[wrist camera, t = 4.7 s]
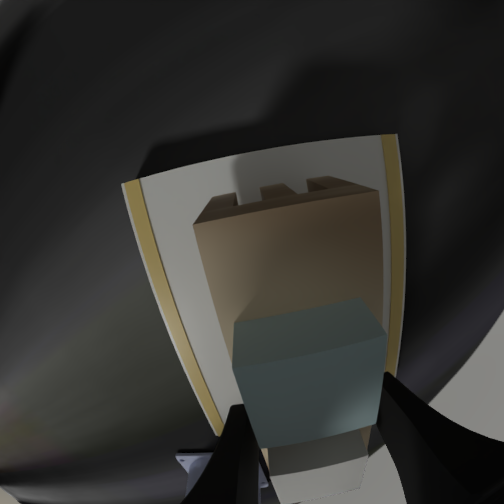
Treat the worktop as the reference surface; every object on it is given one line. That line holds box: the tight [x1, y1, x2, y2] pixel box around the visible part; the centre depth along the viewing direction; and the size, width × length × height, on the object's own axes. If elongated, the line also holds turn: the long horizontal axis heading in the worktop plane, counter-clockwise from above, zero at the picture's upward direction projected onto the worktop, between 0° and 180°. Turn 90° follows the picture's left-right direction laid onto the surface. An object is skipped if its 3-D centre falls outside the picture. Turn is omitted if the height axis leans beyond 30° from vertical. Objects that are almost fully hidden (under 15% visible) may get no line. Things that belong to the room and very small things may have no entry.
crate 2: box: [267, 429, 368, 504], centre depth 10 cm, size 4×4×2 cm
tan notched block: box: [193, 176, 383, 469], centre depth 12 cm, size 16×5×5 cm, turn 11°
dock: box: [121, 134, 406, 436], centre depth 17 cm, size 19×14×2 cm
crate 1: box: [232, 297, 387, 449], centre depth 8 cm, size 4×4×2 cm
